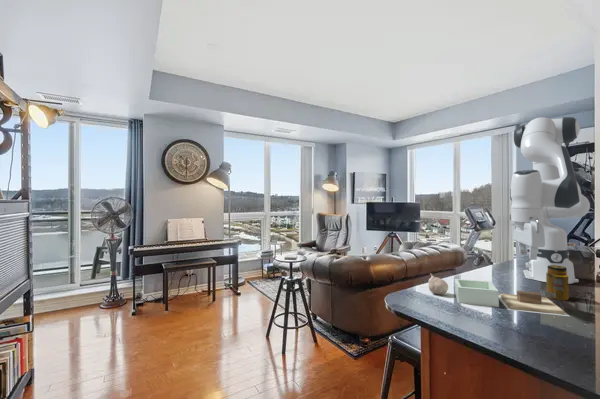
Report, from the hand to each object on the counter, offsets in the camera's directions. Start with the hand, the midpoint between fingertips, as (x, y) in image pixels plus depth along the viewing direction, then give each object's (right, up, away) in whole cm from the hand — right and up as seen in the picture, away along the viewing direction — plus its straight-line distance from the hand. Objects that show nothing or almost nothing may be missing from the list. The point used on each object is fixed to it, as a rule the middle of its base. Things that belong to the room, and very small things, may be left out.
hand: (527, 257), depth 99 cm
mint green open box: (-14, -17, +6) cm, 23 cm away
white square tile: (0, -17, 0) cm, 17 cm away
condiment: (+15, -17, +6) cm, 23 cm away
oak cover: (0, -16, 0) cm, 16 cm away
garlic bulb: (-24, -18, +15) cm, 33 cm away
